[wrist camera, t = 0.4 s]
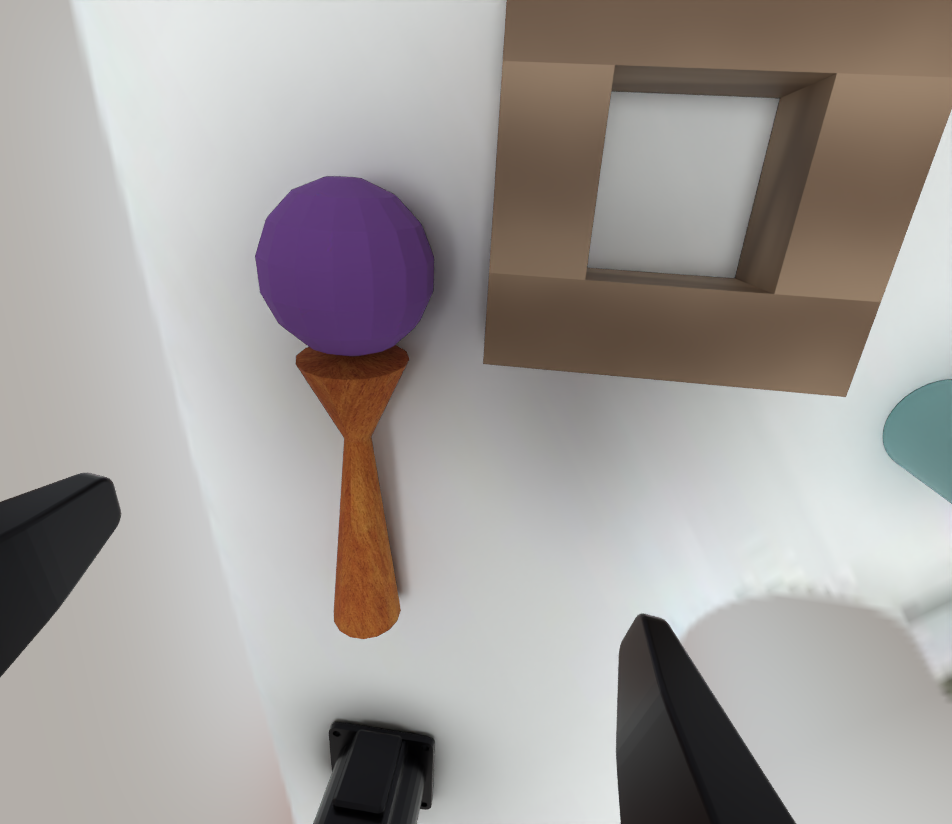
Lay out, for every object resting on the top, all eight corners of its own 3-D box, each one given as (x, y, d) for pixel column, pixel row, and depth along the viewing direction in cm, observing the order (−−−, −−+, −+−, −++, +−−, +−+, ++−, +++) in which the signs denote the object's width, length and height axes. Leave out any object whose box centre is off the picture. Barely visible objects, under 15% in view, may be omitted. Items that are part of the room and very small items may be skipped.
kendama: (279, 639, 24) (197, 172, 15) (346, 555, 29) (316, 169, 20) (394, 681, 22) (383, 190, 13) (443, 585, 27) (461, 181, 18)
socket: (796, 365, 20) (845, 397, 17) (492, 339, 21) (483, 363, 18) (918, -18, 15) (1019, -78, 12) (518, -27, 16) (512, -83, 13)
